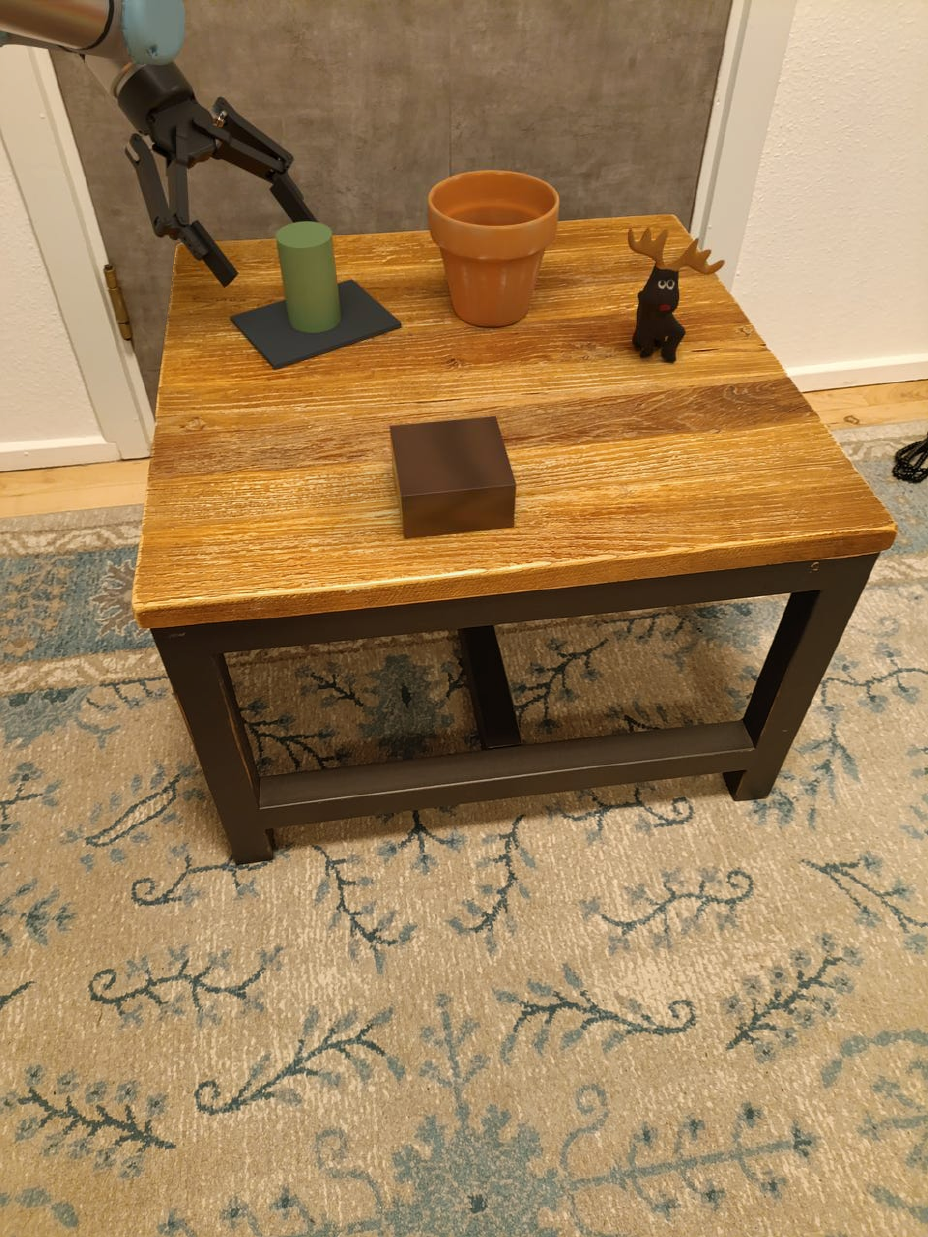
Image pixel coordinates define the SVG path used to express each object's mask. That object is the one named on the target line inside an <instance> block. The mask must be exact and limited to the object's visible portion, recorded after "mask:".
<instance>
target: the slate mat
mask: <svg viewBox="0 0 928 1237" xmlns="http://www.w3.org/2000/svg"><path fill="white" fill-rule="evenodd" d="M338 291H339V300H340V308H341V321H340V323H339V324H338V325H337V326H336V327H334V328H333V329H331V330H328V331H325V332H320V333H305V332H301V331H298V330H296V329H294V328H293V327H292V326H291V325H290V323H289V317H288V311H287V305H286V299H282V300H279V301H276V302H273V303H270V304H266V305H262V306H259V307H255V308H253V309H250V310H246V311H242V312H239V313H236V314H233V315H229V316H230V317H229V319H230V321H231V323H232V324H233V325H234V326H235V327H236V328H237V330H238V331H239V332H240V333H241V334H242V335H243V336H244V338H246V340H248V342H249V343H250V344H251V345H252V346H253V348H255V349H256V351H257V352H258V353H259V354H260V355H261V357H262V358H264V360H265V361H266V362H267V363H268V364H269V365H270V367H272V369H273V370H275V371H276V370H278V369H281V368H285V367H288V366H290V365H293V364H297V363H299V362H303V361H305V360H308V359H311V358H315V357H318V356H320V355H323V354H327V353H329V352H332V351H335V350H338V349H341V348H344V347H347V346H350V345H354V344H356V343H359V342H362V341H365V340H367V339H371V338H374V337H377V336H380V335H382V334H383V335H384V334H386V333H389V332H391V331H395V330H399V329H400V328H402V322H401V320H399V319H398V318H397V317H396V316H394V315H393V313H391V312H390V311H389V310H388V309H387V308H385V307H384V306H383V305H382V304H381V303H380V302H379V301H378V300H376V298H374V297H373V296H372V295H371V294H370V293H368V292H367V290H365V289H364V288H363V287H362V286H361V285H360V284H359V283H357V282H356V281H355V280H354V279H353V278H350V279H348V280H344V281H341V282H338Z"/></svg>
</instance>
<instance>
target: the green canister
mask: <svg viewBox="0 0 928 1237" xmlns="http://www.w3.org/2000/svg"><path fill="white" fill-rule="evenodd" d="M318 222H319V221H318ZM318 222H309V221H305V222H296V223H293V222H292V223H288V224H286V225H283V226H282V227H281V228H279V229H278V230H277V231H276V233H275V242H276V249H277V254H278V260H279V261H278V262H279V267H280V273H281V280H282V286H283V291H284V296H285V297H284V298H285V299H286V305H287V311H288V317H289V323H290V325H291V326H292V327H293V328H294V329H296V330H298V331H301V332H305V333H320V332H325V331H328V330H331V329H333V328H334V327H336V326H337V325H338V324H339V323H340V321H341V308H340V300H339V291H338V283H339V282H338V273H337V265H336V257H335V256H336V255H335V247H334V238H333V231H332V229H331V228H330V227H329V226H328V225H326V224H324V223H321V222H319V223H318ZM285 299H284V300H285Z"/></svg>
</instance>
